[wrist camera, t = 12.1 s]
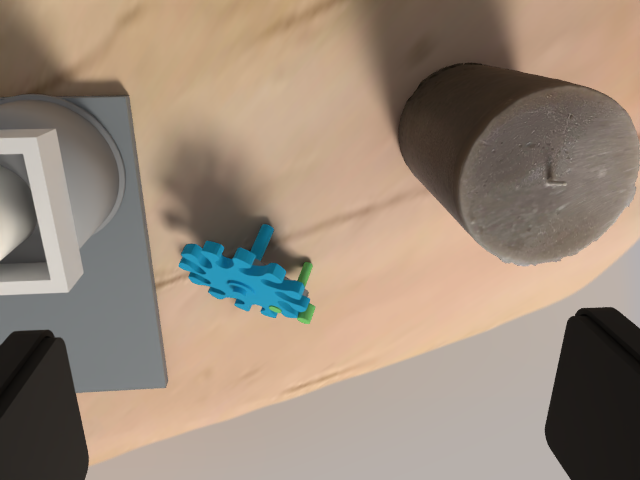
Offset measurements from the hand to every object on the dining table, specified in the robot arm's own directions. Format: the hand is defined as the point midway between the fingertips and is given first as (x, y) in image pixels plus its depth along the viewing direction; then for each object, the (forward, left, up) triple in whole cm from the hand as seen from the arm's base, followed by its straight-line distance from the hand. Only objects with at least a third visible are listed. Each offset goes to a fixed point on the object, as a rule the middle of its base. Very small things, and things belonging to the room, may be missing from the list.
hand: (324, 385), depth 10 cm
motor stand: (+10, -18, -30) cm, 37 cm away
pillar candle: (+1, +13, -31) cm, 33 cm away
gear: (+11, -3, -31) cm, 33 cm away
